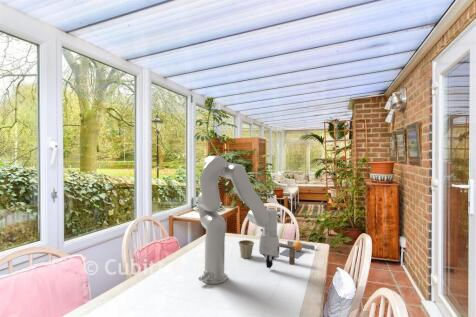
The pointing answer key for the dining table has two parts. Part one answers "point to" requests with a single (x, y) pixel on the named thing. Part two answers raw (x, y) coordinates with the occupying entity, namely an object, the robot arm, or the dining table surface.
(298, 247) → the ball
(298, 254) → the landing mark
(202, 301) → the dining table surface
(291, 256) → the bridge
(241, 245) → the flower pot
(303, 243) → the stopper
